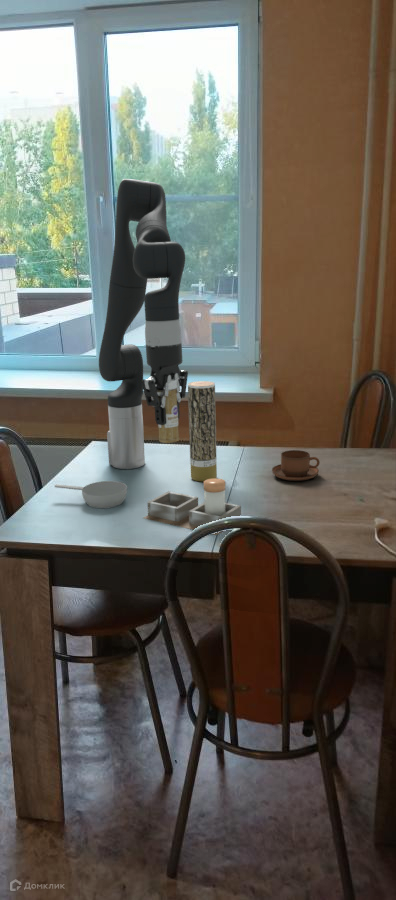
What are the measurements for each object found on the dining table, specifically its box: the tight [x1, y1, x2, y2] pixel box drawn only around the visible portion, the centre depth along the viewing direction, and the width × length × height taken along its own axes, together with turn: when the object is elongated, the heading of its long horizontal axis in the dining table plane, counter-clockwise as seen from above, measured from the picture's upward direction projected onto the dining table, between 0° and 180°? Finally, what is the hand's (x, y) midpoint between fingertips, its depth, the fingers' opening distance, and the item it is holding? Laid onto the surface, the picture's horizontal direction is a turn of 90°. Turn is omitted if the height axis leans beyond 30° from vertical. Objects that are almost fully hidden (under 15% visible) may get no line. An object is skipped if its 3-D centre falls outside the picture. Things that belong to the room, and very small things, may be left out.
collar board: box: [143, 490, 242, 536], centre depth 151 cm, size 19×12×4 cm, turn 57°
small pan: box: [54, 480, 128, 509], centre depth 166 cm, size 11×18×4 cm, turn 78°
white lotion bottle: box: [203, 477, 226, 516], centre depth 147 cm, size 5×5×9 cm
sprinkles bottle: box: [157, 379, 180, 444], centre depth 148 cm, size 5×5×13 cm
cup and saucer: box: [271, 449, 320, 482], centre depth 179 cm, size 12×12×6 cm
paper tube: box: [187, 380, 218, 483], centre depth 176 cm, size 7×7×25 cm
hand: (167, 421), depth 149 cm, fingers closed on sprinkles bottle, 4 cm apart
